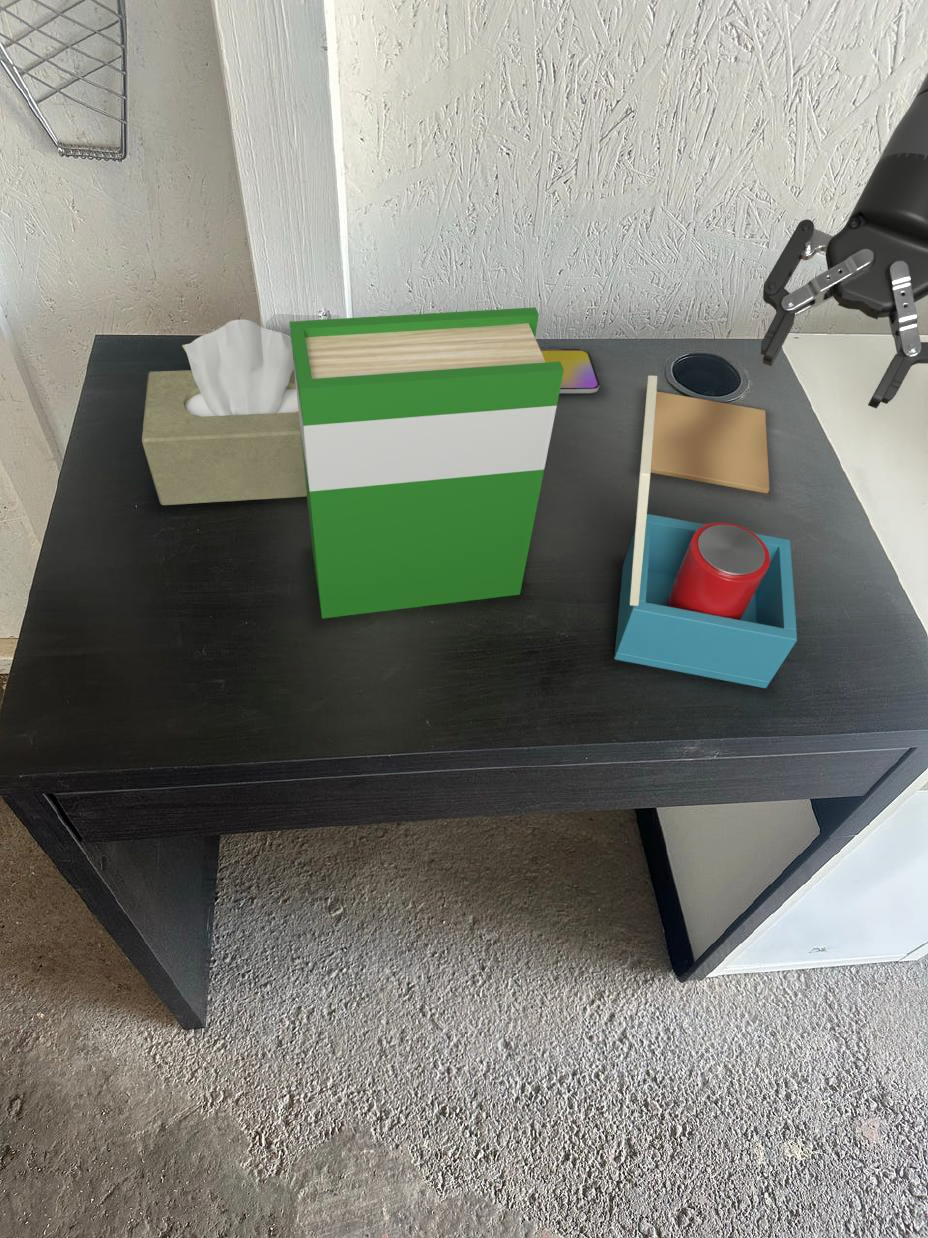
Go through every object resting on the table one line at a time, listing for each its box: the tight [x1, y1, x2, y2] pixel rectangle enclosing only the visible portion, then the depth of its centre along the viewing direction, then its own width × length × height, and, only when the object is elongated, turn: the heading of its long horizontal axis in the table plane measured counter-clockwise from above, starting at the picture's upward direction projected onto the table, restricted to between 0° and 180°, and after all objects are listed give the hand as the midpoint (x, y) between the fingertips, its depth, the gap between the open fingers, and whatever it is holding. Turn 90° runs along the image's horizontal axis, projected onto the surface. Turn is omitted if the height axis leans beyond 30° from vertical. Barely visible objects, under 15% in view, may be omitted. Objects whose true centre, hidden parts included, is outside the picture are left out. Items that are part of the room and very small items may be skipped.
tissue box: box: [141, 319, 307, 506], centre depth 78 cm, size 19×10×16 cm, turn 99°
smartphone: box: [540, 348, 601, 394], centre depth 96 cm, size 7×1×15 cm
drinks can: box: [664, 522, 770, 620], centre depth 70 cm, size 6×6×10 cm
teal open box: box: [613, 513, 798, 689], centre depth 73 cm, size 13×11×7 cm
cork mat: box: [651, 391, 770, 494], centre depth 91 cm, size 13×13×1 cm
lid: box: [630, 375, 658, 606], centre depth 65 cm, size 14×11×1 cm
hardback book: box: [289, 307, 564, 620], centre depth 68 cm, size 18×7×24 cm, turn 102°
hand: (819, 383), depth 66 cm, fingers open, 8 cm apart
